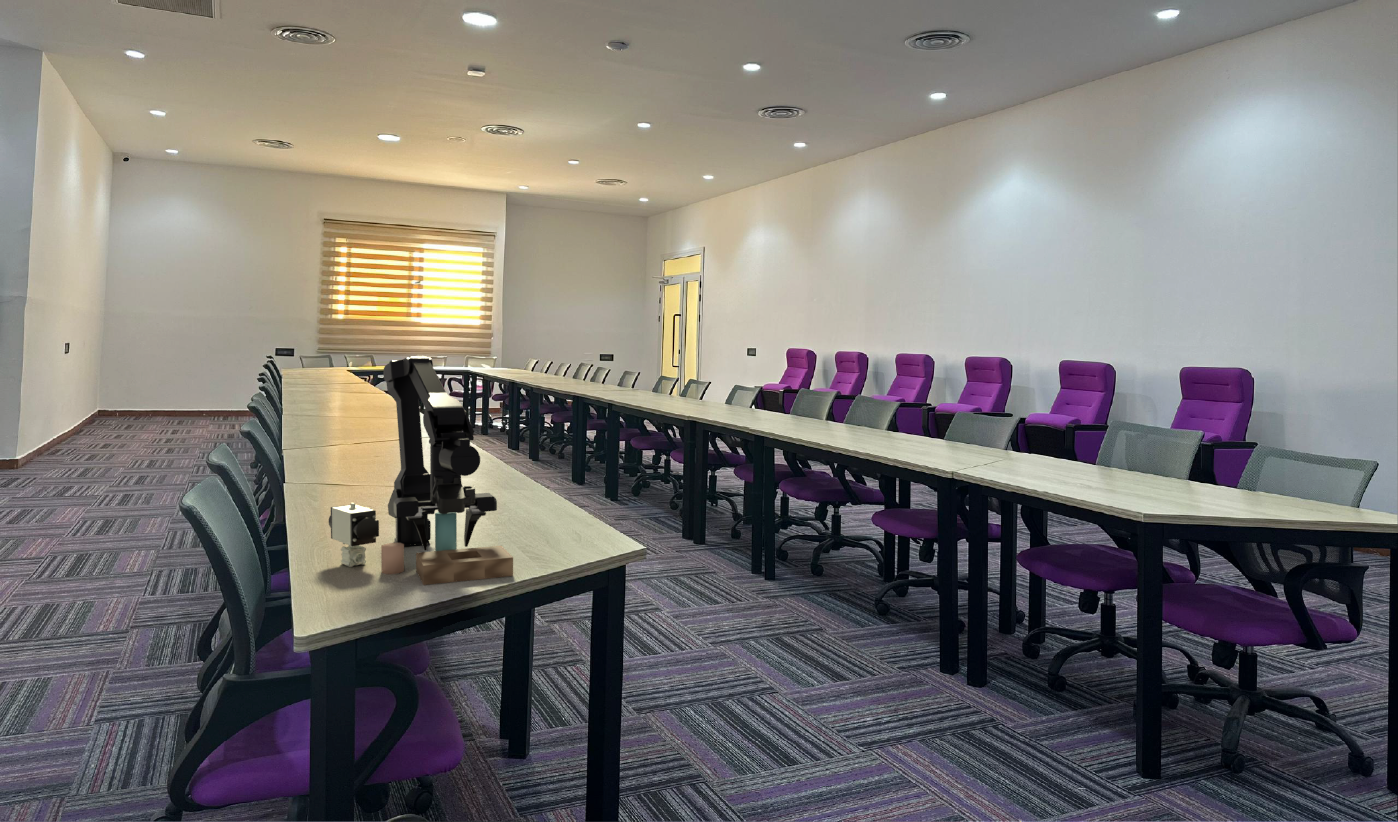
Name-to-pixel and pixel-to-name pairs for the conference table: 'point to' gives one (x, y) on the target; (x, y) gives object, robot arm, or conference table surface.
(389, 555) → the short pin
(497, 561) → the bore board
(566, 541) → the conference table surface
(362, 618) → the conference table surface
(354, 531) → the pneumatic valve
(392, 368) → the robot arm
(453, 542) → the tall pin
